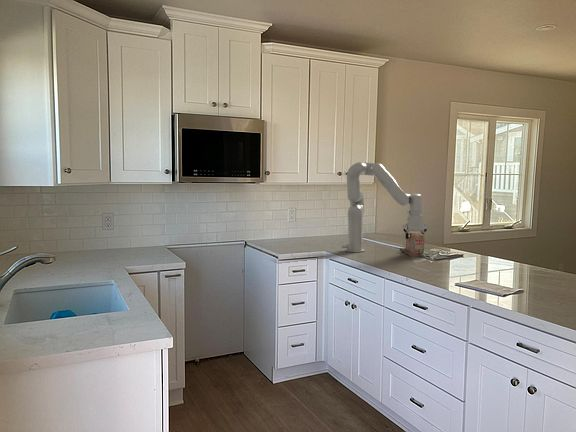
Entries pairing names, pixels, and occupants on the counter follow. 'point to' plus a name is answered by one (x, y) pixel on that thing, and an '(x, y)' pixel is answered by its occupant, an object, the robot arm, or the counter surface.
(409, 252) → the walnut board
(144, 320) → the counter surface
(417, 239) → the cardboard product box
